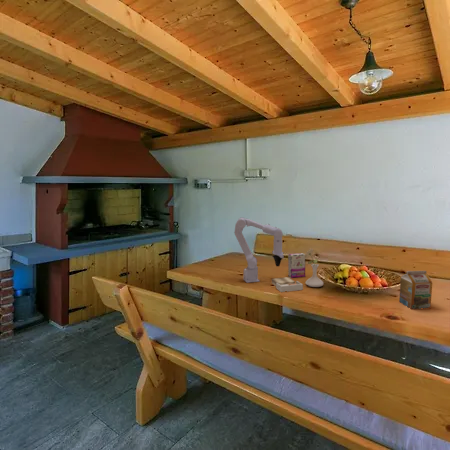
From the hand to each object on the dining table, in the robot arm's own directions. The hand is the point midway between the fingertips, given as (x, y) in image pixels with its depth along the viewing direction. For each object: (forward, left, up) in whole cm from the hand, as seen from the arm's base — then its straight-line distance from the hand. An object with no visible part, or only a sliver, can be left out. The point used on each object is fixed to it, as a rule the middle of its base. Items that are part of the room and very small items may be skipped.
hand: (277, 266), depth 218 cm
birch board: (0, -8, -10) cm, 13 cm away
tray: (0, -17, -10) cm, 20 cm away
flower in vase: (+18, -16, -11) cm, 26 cm away
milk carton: (+53, -61, -11) cm, 81 cm away
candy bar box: (+17, +6, -11) cm, 21 cm away
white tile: (-2, -18, -8) cm, 20 cm away
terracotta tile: (+3, -18, -8) cm, 20 cm away
